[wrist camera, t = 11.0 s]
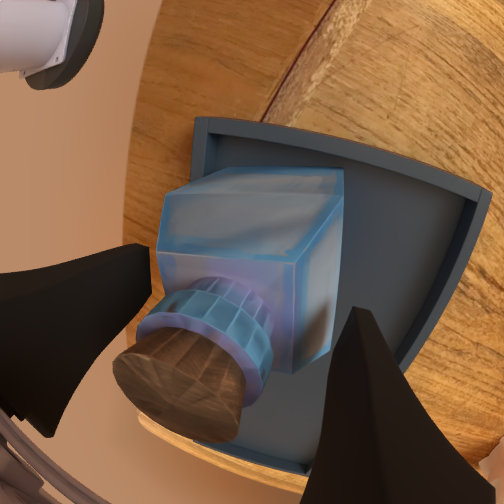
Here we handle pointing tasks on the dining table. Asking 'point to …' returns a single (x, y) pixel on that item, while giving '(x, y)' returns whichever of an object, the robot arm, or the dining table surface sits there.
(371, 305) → the tray
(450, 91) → the dining table surface
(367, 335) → the robot arm
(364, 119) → the dining table surface
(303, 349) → the perfume bottle
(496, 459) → the figurine
